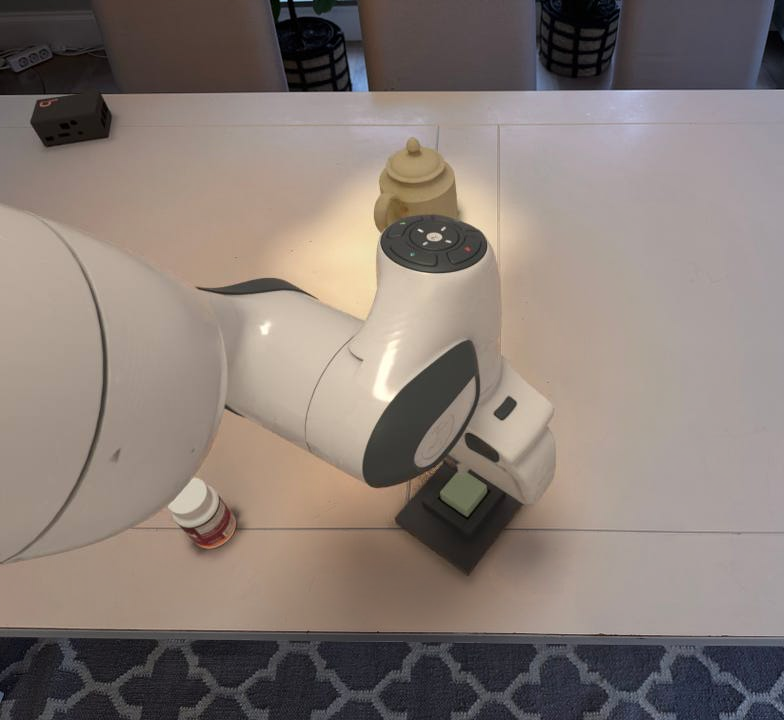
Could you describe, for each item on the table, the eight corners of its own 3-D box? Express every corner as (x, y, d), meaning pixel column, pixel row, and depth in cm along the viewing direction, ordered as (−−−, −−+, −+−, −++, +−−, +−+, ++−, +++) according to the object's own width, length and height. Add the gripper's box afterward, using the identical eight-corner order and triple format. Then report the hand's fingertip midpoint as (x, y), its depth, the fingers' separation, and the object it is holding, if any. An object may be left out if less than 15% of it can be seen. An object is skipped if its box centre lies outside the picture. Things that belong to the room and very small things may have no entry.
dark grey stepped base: (468, 576, 70) (467, 565, 67) (395, 522, 74) (392, 511, 71) (533, 490, 75) (534, 478, 73) (462, 445, 79) (461, 432, 77)
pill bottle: (185, 527, 74) (153, 493, 67) (223, 500, 76) (196, 464, 69) (205, 558, 72) (174, 526, 65) (244, 530, 74) (218, 496, 67)
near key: (467, 518, 71) (466, 510, 69) (440, 499, 72) (439, 492, 71) (487, 492, 73) (487, 485, 71) (461, 475, 74) (460, 467, 73)
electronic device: (108, 138, 120) (94, 112, 116) (45, 147, 118) (29, 122, 114) (112, 115, 124) (99, 89, 120) (51, 124, 123) (36, 99, 119)
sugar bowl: (456, 265, 98) (449, 180, 86) (380, 266, 98) (363, 182, 86) (459, 198, 107) (453, 113, 95) (390, 199, 107) (375, 115, 95)
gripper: (331, 348, 58) (357, 432, 69) (527, 472, 50) (521, 545, 61) (380, 304, 61) (397, 392, 72) (572, 415, 53) (559, 494, 64)
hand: (456, 463), depth 67 cm, fingers closed
